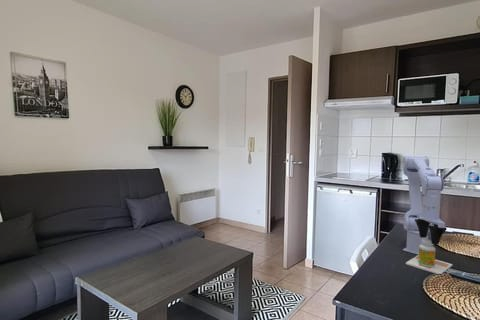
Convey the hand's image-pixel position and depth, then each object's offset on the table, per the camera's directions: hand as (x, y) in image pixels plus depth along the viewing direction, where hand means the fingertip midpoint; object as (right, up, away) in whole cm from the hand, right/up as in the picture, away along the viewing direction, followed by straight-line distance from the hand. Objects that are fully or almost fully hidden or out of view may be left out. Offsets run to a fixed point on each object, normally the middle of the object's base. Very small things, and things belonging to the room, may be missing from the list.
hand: (428, 240), depth 111 cm
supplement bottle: (-1, -10, +1) cm, 10 cm away
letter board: (+1, -10, +2) cm, 11 cm away
